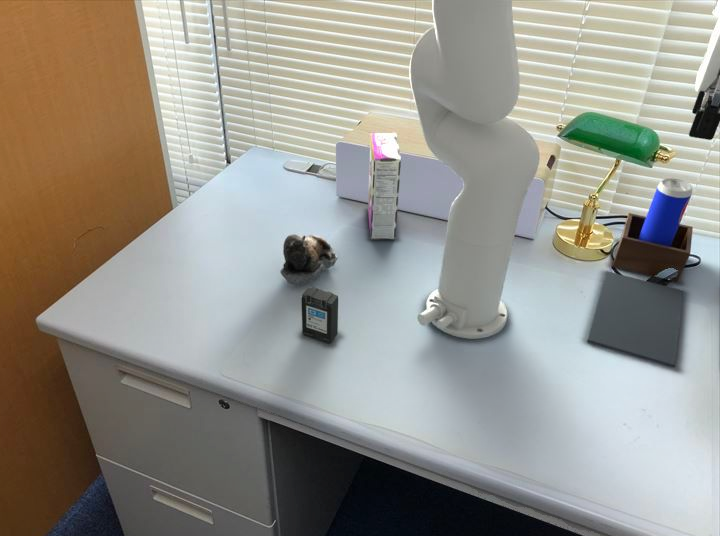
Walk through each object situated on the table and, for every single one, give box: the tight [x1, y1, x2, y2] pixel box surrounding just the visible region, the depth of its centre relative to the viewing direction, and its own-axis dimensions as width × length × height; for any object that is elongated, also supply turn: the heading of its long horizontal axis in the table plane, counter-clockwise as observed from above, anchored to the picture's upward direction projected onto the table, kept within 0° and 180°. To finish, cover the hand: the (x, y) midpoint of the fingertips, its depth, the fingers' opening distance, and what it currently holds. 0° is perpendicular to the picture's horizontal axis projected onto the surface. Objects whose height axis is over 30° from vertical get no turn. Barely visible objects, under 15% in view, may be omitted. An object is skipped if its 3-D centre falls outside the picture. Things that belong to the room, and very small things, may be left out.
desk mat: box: [586, 270, 684, 368], centre depth 99 cm, size 20×12×1 cm, turn 153°
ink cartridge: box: [300, 286, 339, 345], centre depth 93 cm, size 5×2×8 cm, turn 63°
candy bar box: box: [367, 132, 402, 241], centre depth 116 cm, size 11×5×16 cm, turn 179°
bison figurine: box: [279, 233, 339, 287], centre depth 105 cm, size 12×7×10 cm, turn 151°
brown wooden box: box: [612, 212, 694, 284], centre depth 109 cm, size 9×10×6 cm
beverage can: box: [638, 177, 693, 247], centre depth 106 cm, size 5×5×15 cm
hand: (701, 125), depth 95 cm, fingers open, 9 cm apart
